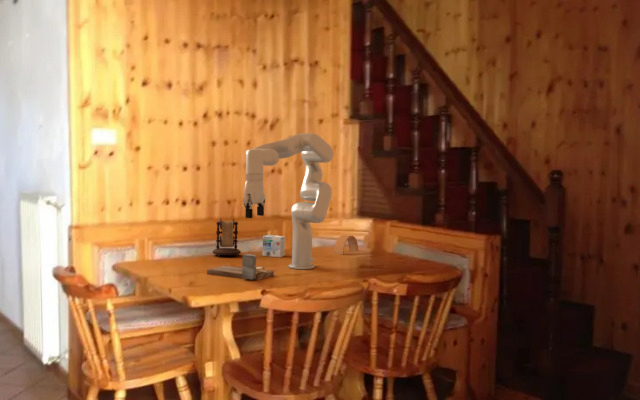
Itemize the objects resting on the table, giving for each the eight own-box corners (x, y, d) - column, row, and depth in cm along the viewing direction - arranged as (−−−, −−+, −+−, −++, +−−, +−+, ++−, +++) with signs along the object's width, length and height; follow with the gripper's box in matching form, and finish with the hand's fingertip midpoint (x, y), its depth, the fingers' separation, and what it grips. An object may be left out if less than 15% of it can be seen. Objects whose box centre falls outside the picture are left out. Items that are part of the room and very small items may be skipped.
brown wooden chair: (214, 258, 344) (214, 219, 342) (211, 253, 358) (211, 216, 357) (242, 257, 348) (243, 219, 346) (238, 253, 362) (239, 216, 360)
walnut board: (224, 269, 309) (224, 265, 309) (273, 275, 298) (273, 270, 297) (207, 274, 296) (207, 269, 296) (257, 280, 285) (257, 275, 285)
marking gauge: (257, 274, 295) (257, 251, 295) (266, 275, 293) (267, 252, 293) (242, 278, 284) (242, 254, 284) (252, 279, 282) (252, 256, 282)
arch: (333, 254, 371) (333, 236, 370) (349, 250, 388) (350, 233, 387) (342, 255, 368) (343, 237, 367) (358, 251, 385) (359, 234, 385)
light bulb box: (261, 256, 356) (262, 235, 355) (266, 254, 362) (267, 234, 361) (280, 257, 353) (281, 237, 352) (285, 255, 359) (285, 235, 358)
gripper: (257, 176, 300) (257, 214, 301) (236, 178, 284) (237, 218, 286) (271, 176, 297) (271, 215, 298) (251, 179, 281) (252, 219, 283)
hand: (254, 216), depth 292 cm, fingers open, 9 cm apart
